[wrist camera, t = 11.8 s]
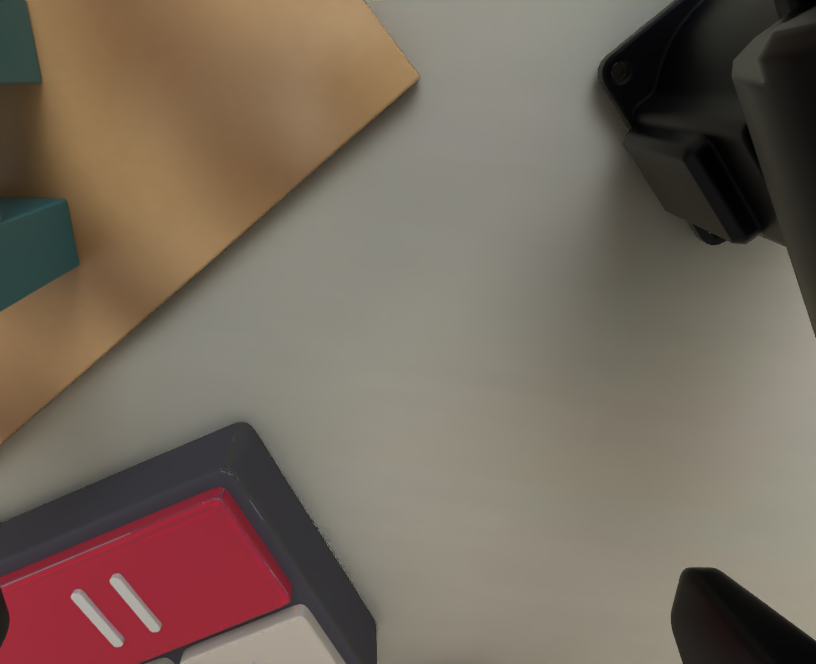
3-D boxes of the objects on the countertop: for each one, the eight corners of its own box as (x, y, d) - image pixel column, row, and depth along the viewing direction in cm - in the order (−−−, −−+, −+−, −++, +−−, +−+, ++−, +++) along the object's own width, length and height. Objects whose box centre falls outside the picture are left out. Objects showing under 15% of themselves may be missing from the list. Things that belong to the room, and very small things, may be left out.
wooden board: (70, -398, 13) (54, -419, 12) (420, 77, 17) (421, 77, 16) (-374, 200, 17) (-399, 203, 17) (-22, 464, 21) (-33, 474, 21)
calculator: (382, 713, 21) (19, 847, 23) (379, 615, 25) (71, 733, 27) (224, 480, 17) (-206, 660, 19) (250, 407, 21) (-105, 559, 23)
